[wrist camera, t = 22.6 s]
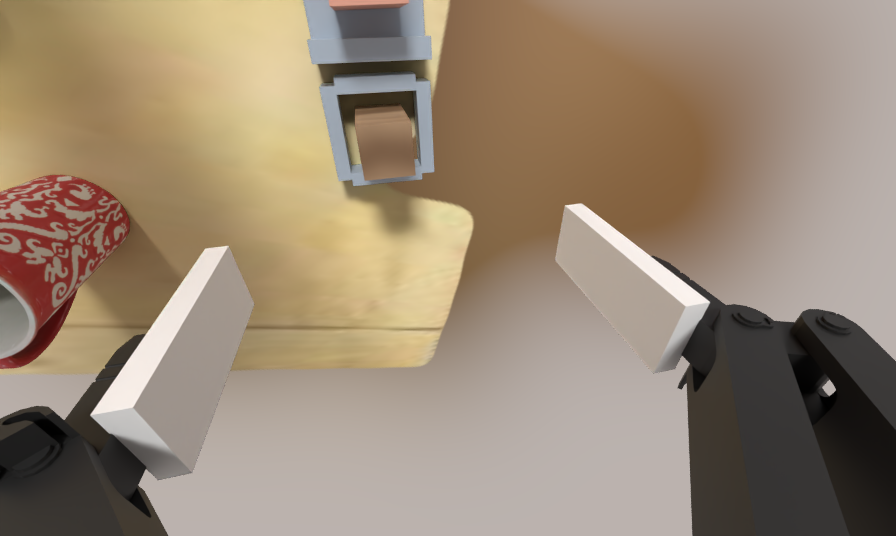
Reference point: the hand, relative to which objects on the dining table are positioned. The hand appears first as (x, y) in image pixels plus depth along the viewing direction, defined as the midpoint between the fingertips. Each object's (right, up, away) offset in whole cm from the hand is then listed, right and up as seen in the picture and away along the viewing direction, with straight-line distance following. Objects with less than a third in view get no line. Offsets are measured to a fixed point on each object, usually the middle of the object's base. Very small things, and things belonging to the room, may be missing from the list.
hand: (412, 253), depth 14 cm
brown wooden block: (-5, +12, +18) cm, 23 cm away
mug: (-32, +3, +18) cm, 37 cm away
